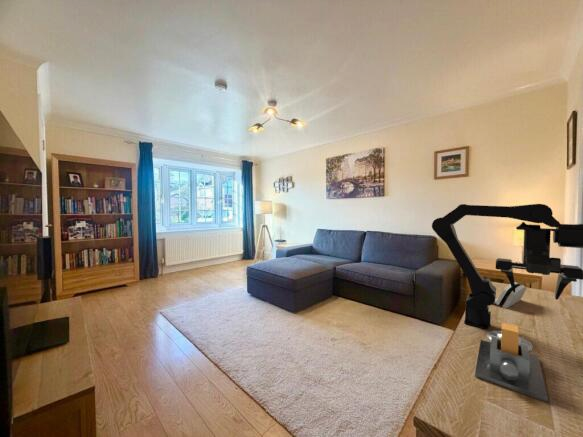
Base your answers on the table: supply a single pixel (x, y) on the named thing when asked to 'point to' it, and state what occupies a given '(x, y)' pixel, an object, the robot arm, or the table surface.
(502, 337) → the orange rectangular prism
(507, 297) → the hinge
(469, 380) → the table surface
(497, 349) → the bracket
